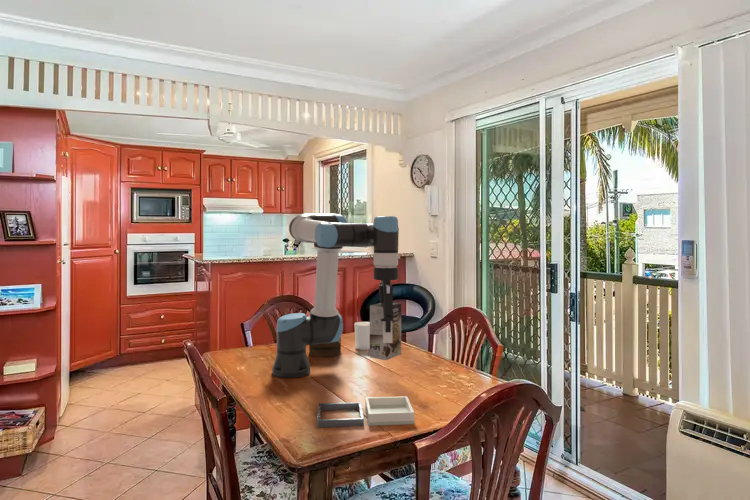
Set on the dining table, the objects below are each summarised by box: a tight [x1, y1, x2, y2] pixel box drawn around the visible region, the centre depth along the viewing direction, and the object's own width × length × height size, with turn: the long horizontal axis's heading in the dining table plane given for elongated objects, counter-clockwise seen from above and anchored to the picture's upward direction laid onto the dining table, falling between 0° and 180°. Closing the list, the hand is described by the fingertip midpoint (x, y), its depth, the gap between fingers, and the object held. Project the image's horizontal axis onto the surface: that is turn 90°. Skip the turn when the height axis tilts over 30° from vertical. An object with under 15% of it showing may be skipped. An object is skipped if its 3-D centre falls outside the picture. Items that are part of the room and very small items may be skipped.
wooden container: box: [308, 313, 342, 358], centre depth 217 cm, size 15×15×22 cm
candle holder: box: [353, 321, 370, 351], centre depth 227 cm, size 10×10×12 cm
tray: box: [364, 395, 415, 427], centre depth 143 cm, size 14×14×4 cm
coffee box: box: [368, 302, 402, 361], centre depth 141 cm, size 9×6×16 cm
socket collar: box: [316, 401, 365, 428], centre depth 141 cm, size 14×14×2 cm
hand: (385, 338), depth 142 cm, fingers closed on coffee box, 10 cm apart
